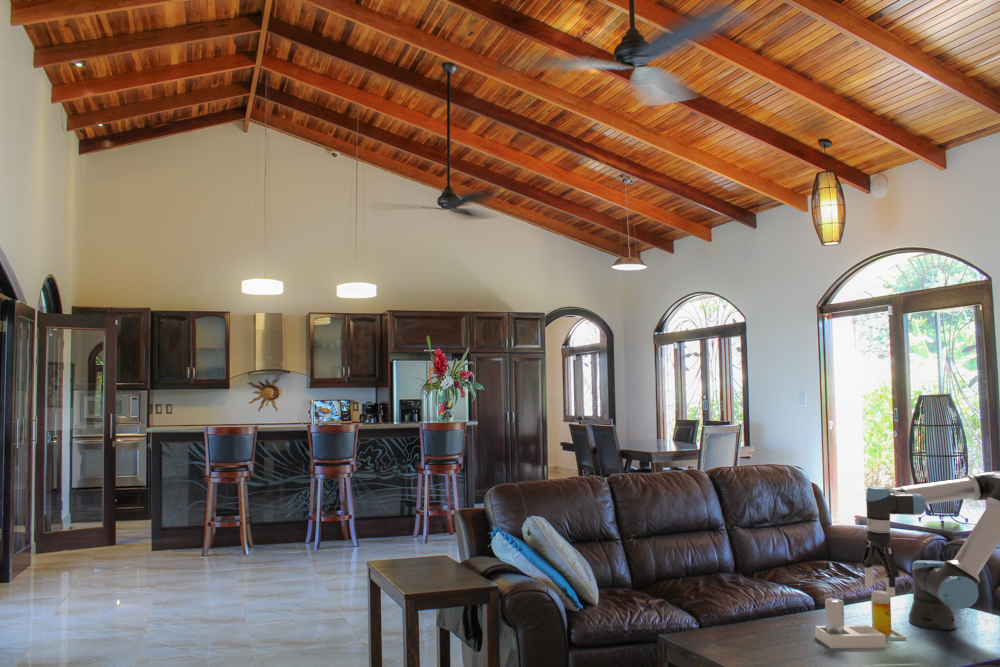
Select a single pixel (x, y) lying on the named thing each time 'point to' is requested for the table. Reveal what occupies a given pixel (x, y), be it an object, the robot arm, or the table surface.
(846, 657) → the table surface
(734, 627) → the table surface
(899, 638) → the empty picture frame
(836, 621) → the shiny metal cylinder
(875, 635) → the dock
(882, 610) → the beer can
